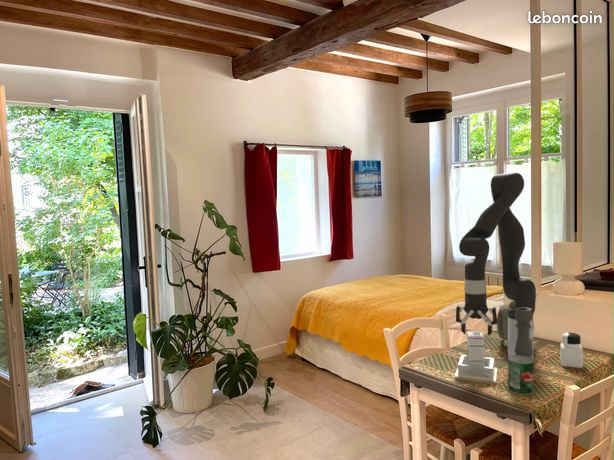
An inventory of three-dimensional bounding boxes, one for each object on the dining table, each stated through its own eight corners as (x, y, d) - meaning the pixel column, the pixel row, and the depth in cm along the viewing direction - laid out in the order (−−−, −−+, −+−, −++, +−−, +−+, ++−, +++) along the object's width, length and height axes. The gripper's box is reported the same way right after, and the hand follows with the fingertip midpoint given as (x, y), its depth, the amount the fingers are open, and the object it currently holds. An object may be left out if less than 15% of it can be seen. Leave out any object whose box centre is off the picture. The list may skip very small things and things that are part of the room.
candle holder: (532, 380, 165) (531, 311, 163) (513, 377, 168) (512, 309, 166) (534, 374, 170) (533, 307, 168) (515, 371, 173) (515, 306, 172)
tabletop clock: (533, 346, 202) (533, 289, 200) (533, 352, 194) (533, 293, 192) (497, 342, 208) (497, 288, 207) (496, 348, 200) (496, 291, 199)
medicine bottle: (581, 362, 181) (581, 332, 180) (583, 368, 174) (583, 337, 174) (560, 360, 184) (560, 330, 183) (561, 366, 177) (561, 335, 177)
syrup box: (485, 375, 169) (484, 336, 168) (468, 374, 170) (467, 335, 169) (483, 369, 174) (482, 331, 173) (466, 368, 176) (466, 331, 175)
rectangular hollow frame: (497, 370, 175) (497, 357, 175) (495, 384, 163) (495, 370, 162) (459, 365, 181) (458, 353, 181) (454, 378, 169) (454, 365, 168)
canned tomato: (509, 384, 162) (509, 353, 161) (534, 388, 158) (534, 356, 157) (506, 392, 155) (506, 360, 155) (532, 397, 151) (532, 364, 151)
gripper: (496, 289, 170) (497, 332, 171) (456, 288, 176) (457, 330, 177) (495, 294, 164) (497, 338, 165) (454, 292, 169) (455, 335, 171)
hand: (476, 334), depth 171 cm, fingers open, 8 cm apart
